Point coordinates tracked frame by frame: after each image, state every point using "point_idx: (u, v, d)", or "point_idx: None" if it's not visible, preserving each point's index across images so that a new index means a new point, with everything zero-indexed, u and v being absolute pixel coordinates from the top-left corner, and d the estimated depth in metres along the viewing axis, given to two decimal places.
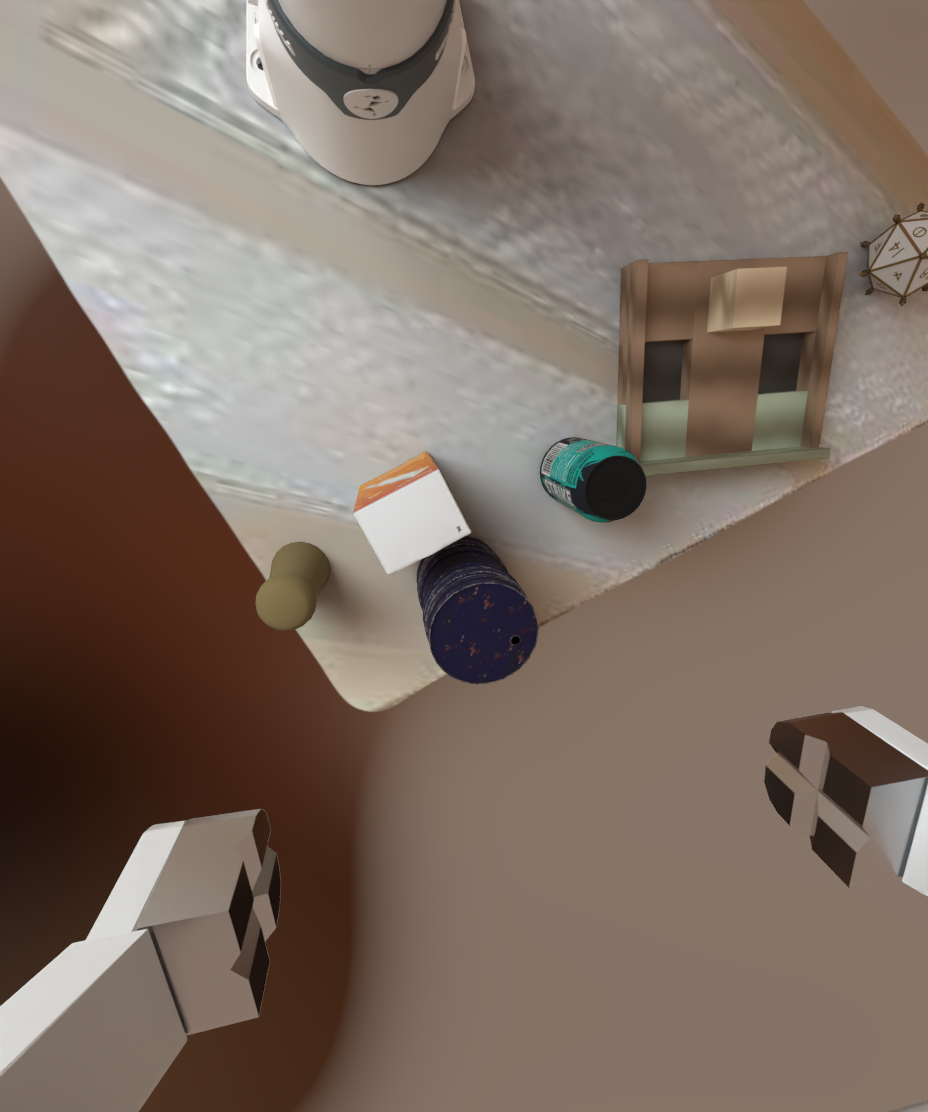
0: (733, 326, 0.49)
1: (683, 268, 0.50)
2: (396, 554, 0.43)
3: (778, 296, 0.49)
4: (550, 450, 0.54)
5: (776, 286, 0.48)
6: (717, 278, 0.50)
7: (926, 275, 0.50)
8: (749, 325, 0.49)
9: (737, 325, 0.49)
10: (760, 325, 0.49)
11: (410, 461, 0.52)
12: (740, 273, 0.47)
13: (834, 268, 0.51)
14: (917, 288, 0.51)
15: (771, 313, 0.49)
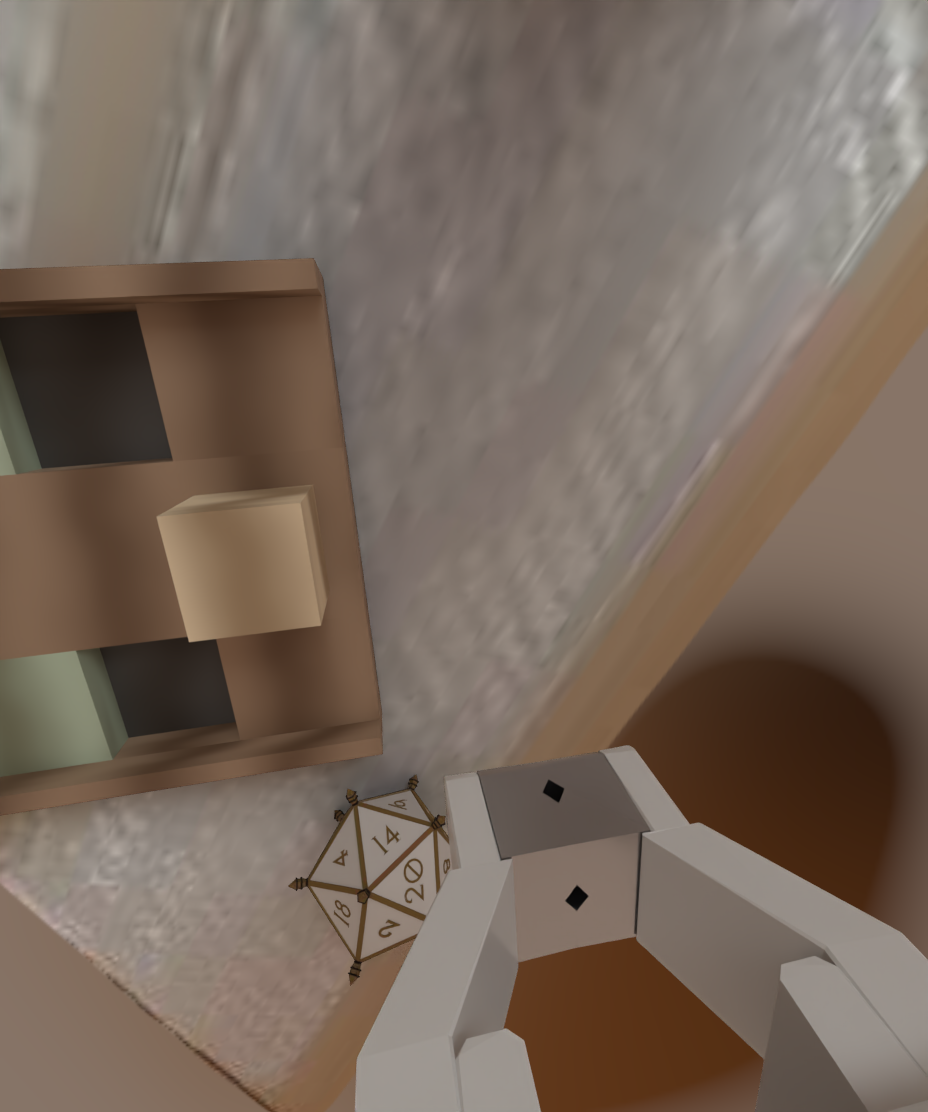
0: (160, 519, 0.18)
1: (323, 413, 0.22)
2: None
3: (253, 621, 0.20)
4: None
5: (275, 611, 0.20)
6: (303, 489, 0.22)
7: (339, 912, 0.25)
8: (172, 562, 0.19)
9: (165, 529, 0.19)
10: (179, 592, 0.19)
11: None
12: (290, 513, 0.19)
13: (353, 738, 0.26)
14: (320, 902, 0.25)
15: (212, 613, 0.20)
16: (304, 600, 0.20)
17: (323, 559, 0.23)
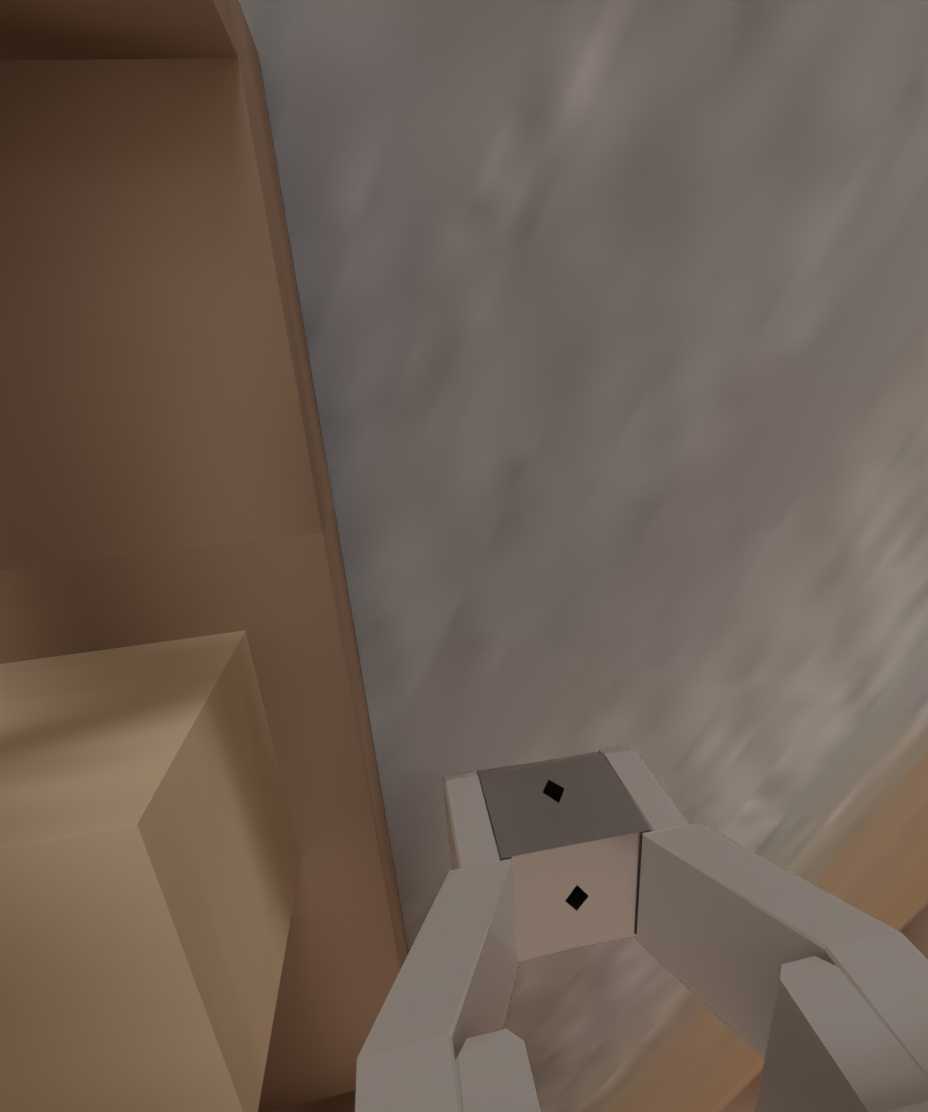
0: None
1: (264, 442, 0.08)
2: None
3: None
4: None
5: None
6: (208, 665, 0.07)
7: None
8: None
9: None
10: None
11: None
12: (101, 861, 0.05)
13: None
14: None
15: None
16: (190, 1090, 0.06)
17: (280, 810, 0.09)
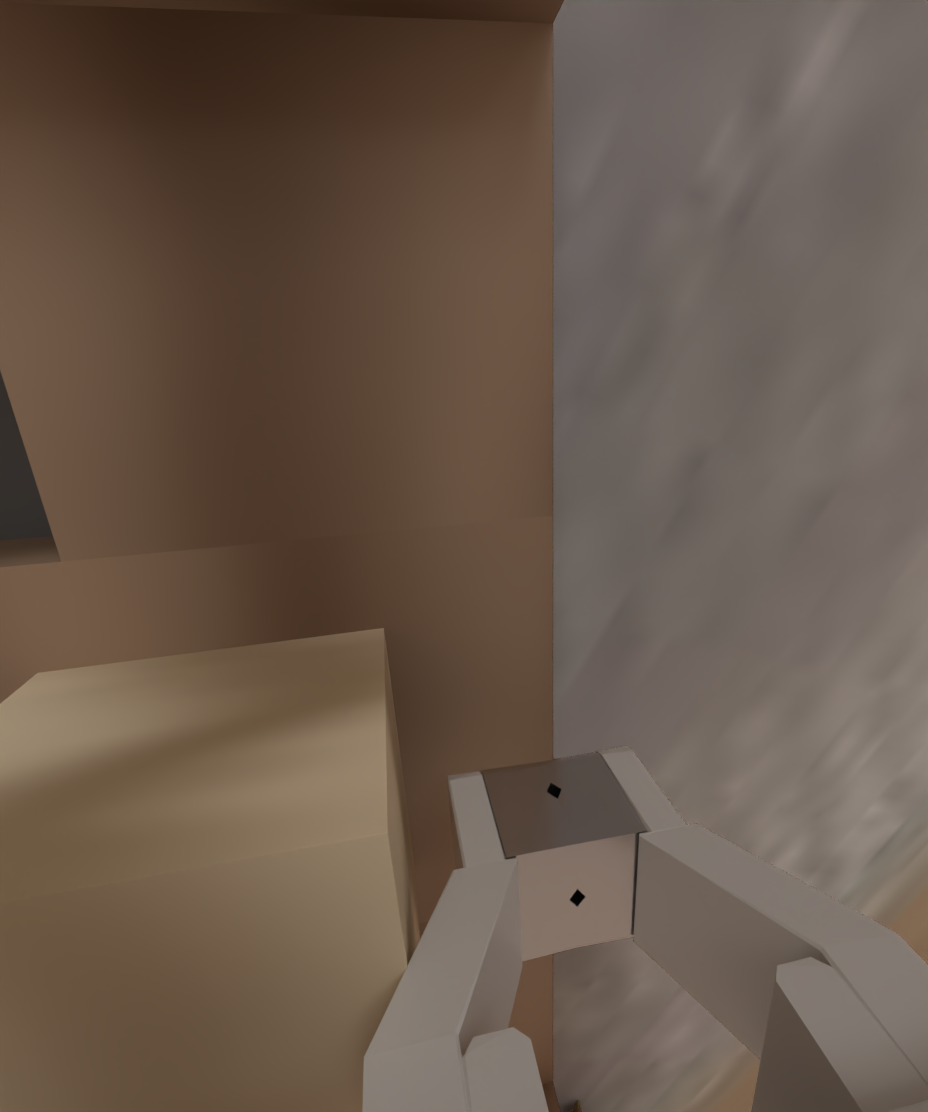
0: None
1: (512, 421, 0.07)
2: None
3: None
4: None
5: None
6: (365, 663, 0.07)
7: None
8: None
9: None
10: None
11: None
12: (344, 873, 0.04)
13: None
14: None
15: None
16: None
17: (406, 817, 0.09)
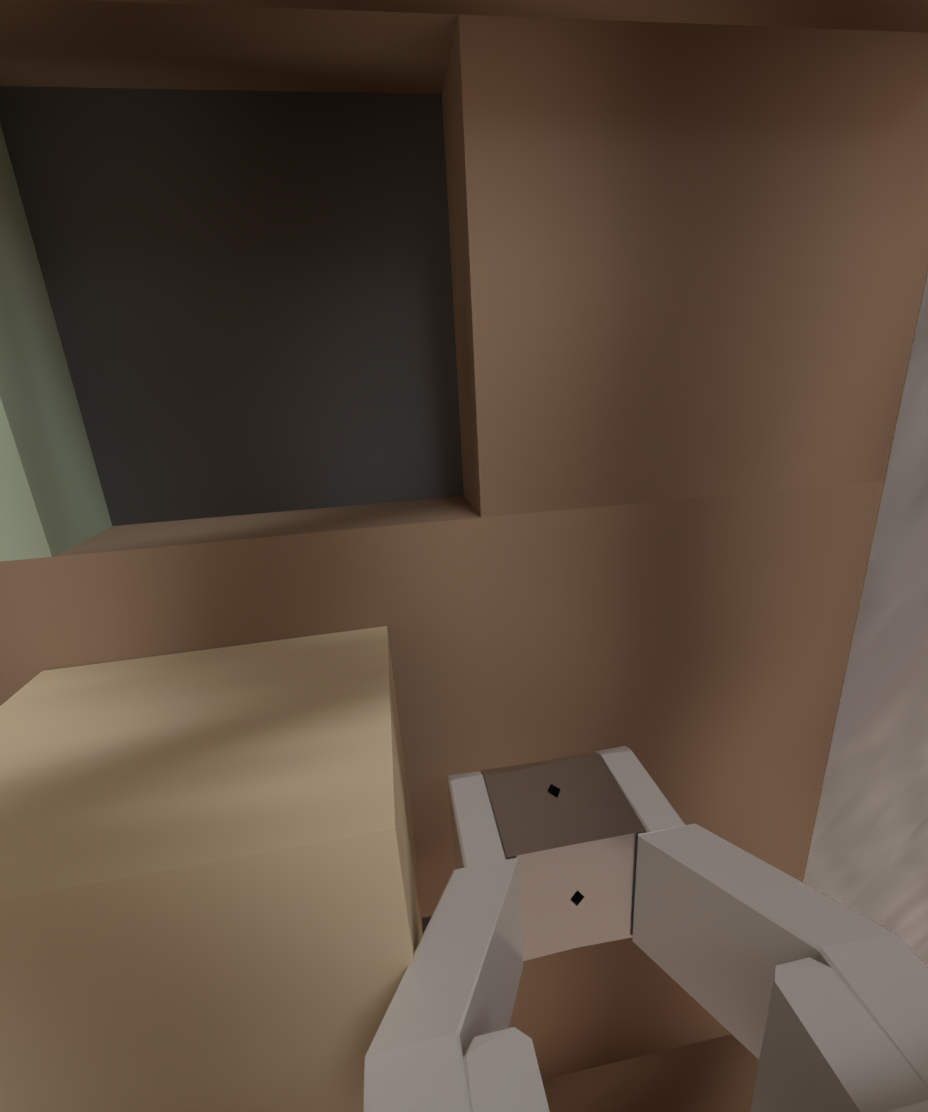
0: None
1: (869, 392, 0.08)
2: None
3: None
4: None
5: None
6: (369, 661, 0.07)
7: None
8: None
9: None
10: None
11: None
12: (351, 868, 0.04)
13: None
14: None
15: None
16: None
17: (409, 814, 0.09)
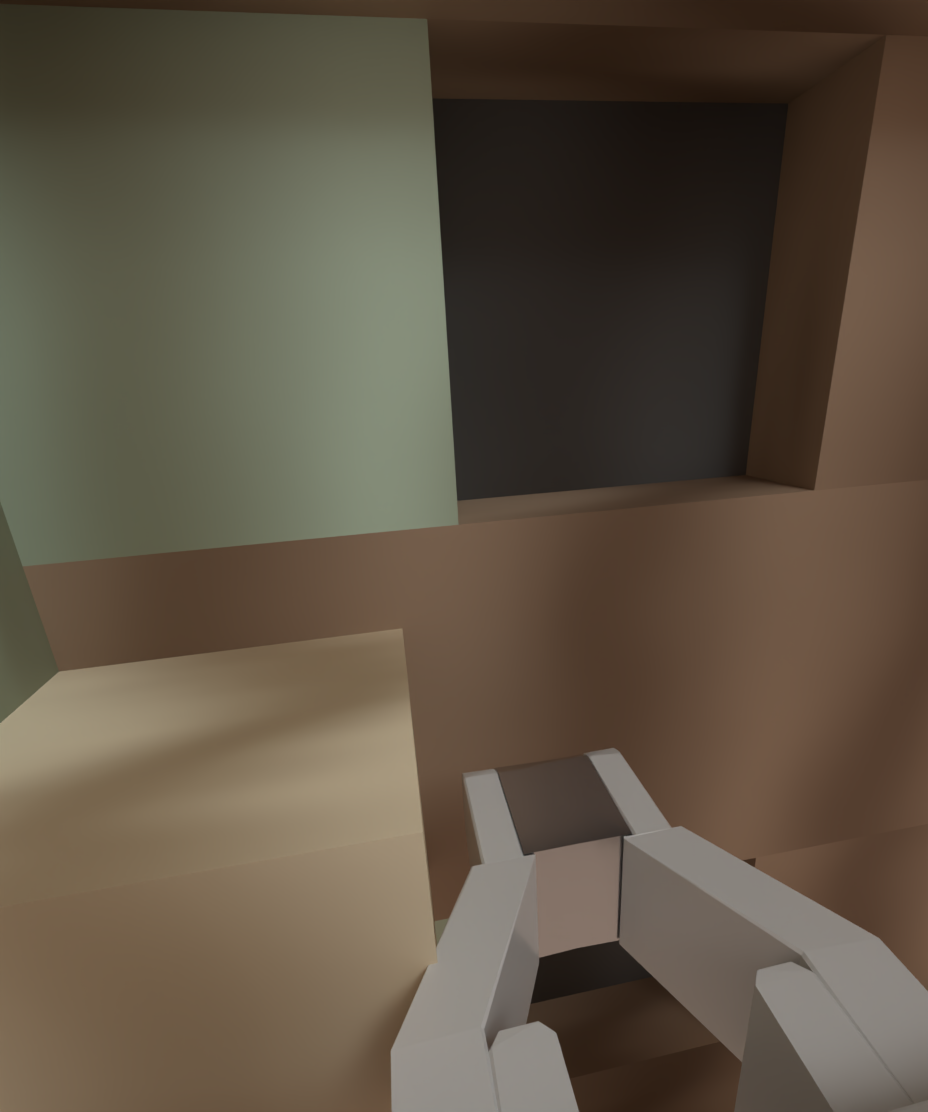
0: None
1: None
2: None
3: None
4: None
5: None
6: (387, 663, 0.07)
7: None
8: None
9: None
10: None
11: None
12: (379, 871, 0.04)
13: None
14: None
15: None
16: None
17: None
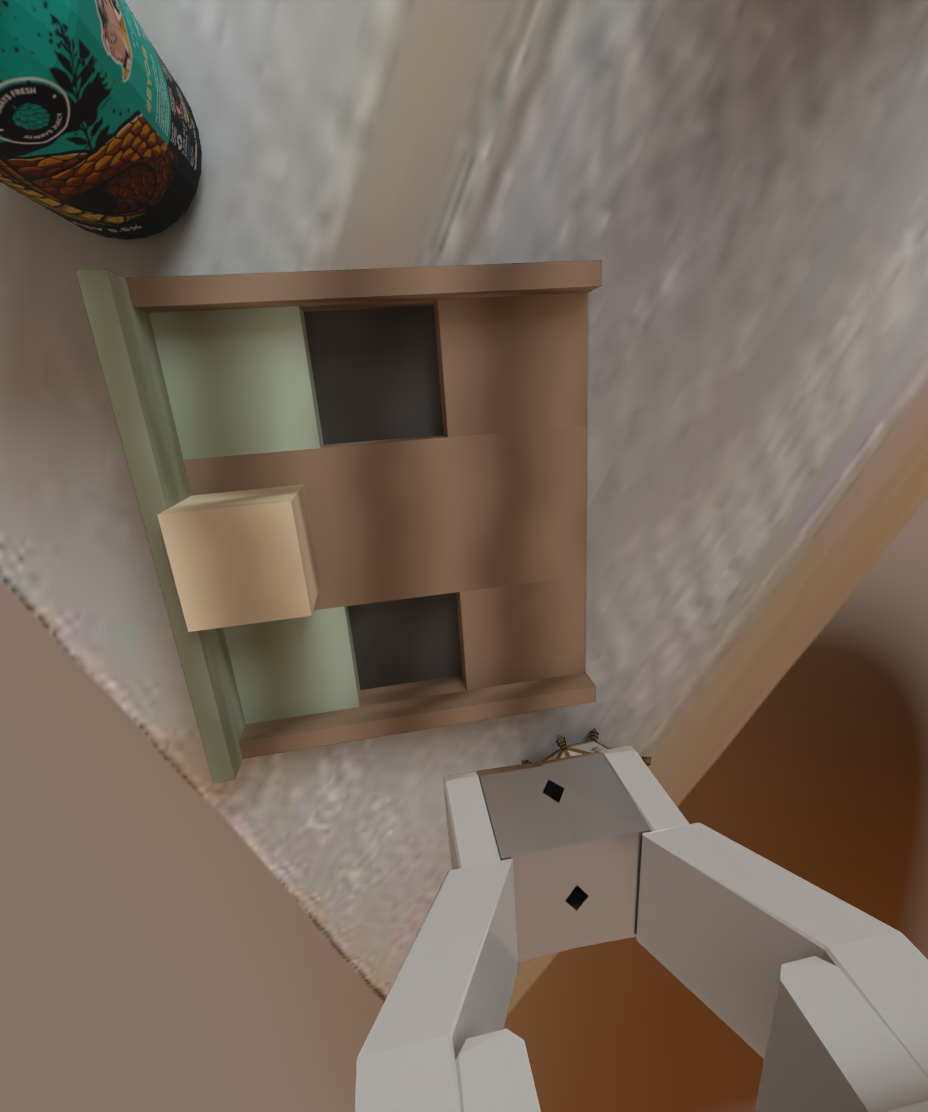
0: (161, 517, 0.20)
1: (575, 395, 0.25)
2: None
3: (248, 612, 0.22)
4: None
5: (268, 602, 0.22)
6: (295, 488, 0.23)
7: None
8: (172, 557, 0.20)
9: (165, 527, 0.20)
10: (178, 585, 0.21)
11: None
12: (281, 510, 0.21)
13: (570, 687, 0.29)
14: None
15: (210, 604, 0.21)
16: (295, 592, 0.22)
17: (314, 554, 0.25)
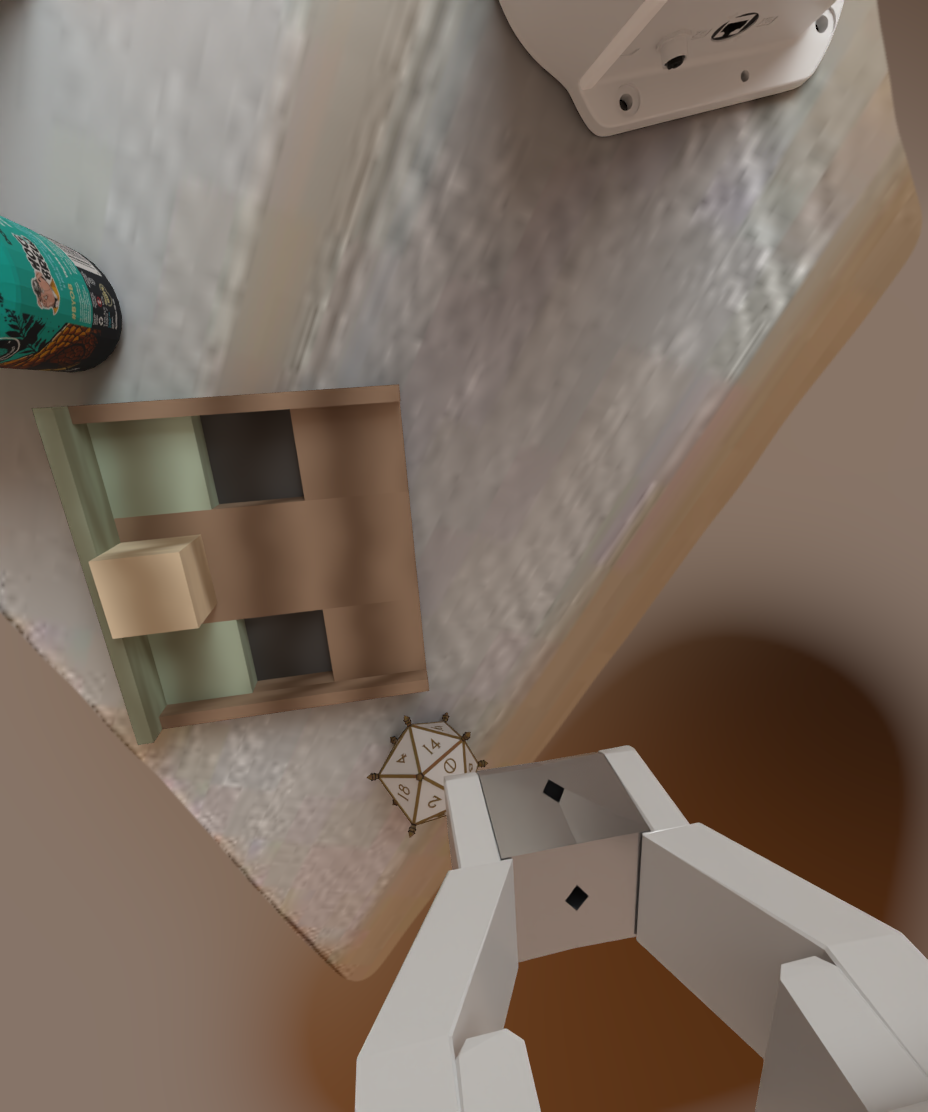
0: (91, 563, 0.30)
1: (397, 470, 0.35)
2: None
3: (154, 625, 0.32)
4: (82, 256, 0.29)
5: (167, 619, 0.32)
6: (191, 539, 0.33)
7: (401, 792, 0.38)
8: (99, 589, 0.30)
9: (94, 569, 0.30)
10: (105, 607, 0.31)
11: None
12: (173, 558, 0.31)
13: (409, 679, 0.39)
14: (388, 788, 0.39)
15: (126, 620, 0.31)
16: (186, 612, 0.32)
17: (210, 583, 0.35)
